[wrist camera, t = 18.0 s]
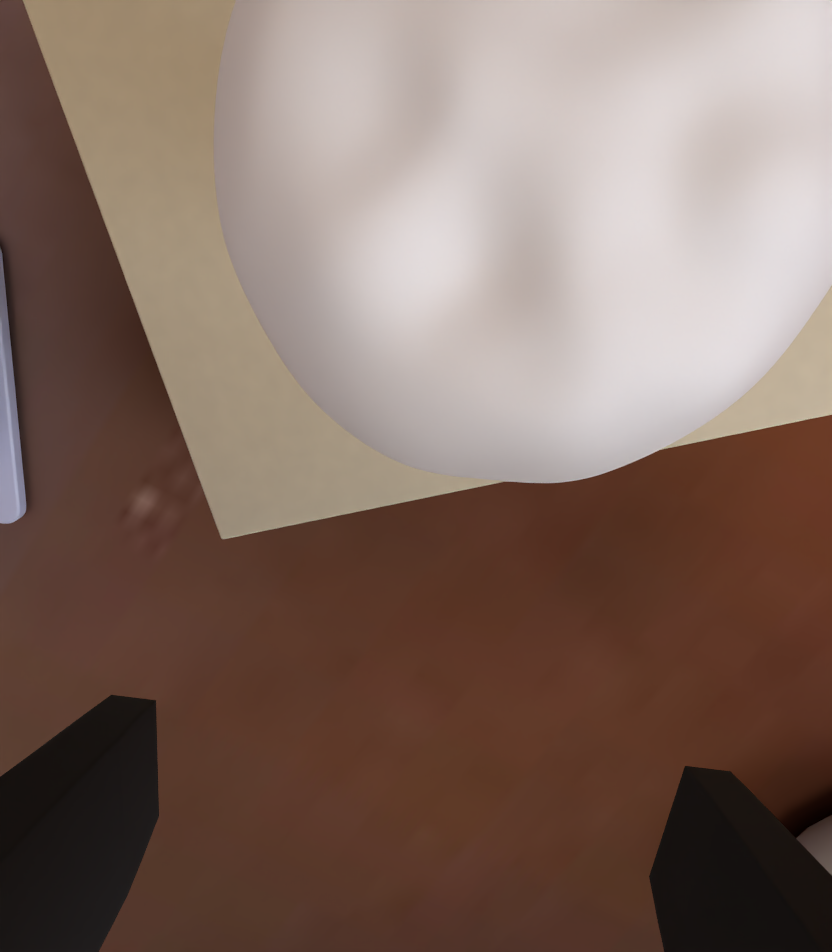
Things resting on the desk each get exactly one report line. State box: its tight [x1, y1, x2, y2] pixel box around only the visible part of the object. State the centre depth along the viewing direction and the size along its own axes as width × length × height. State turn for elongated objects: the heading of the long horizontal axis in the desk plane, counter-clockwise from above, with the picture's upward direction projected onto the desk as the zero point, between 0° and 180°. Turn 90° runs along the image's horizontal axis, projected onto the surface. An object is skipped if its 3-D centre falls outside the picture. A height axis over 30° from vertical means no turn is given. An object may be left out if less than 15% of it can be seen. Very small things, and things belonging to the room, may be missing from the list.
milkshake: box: [214, 0, 832, 483], centre depth 7 cm, size 4×5×10 cm
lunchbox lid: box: [23, 0, 832, 539], centre depth 12 cm, size 14×11×1 cm
